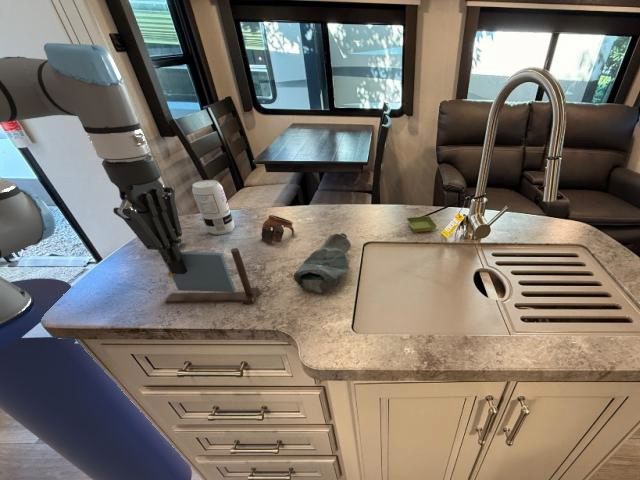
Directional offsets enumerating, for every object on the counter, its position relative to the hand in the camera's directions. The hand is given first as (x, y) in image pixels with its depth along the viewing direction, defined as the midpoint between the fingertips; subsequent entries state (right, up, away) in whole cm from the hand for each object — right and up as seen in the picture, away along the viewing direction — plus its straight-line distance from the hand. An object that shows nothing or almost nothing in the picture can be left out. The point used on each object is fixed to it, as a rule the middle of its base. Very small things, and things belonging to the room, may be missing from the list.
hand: (179, 272), depth 70 cm
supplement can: (-10, +17, +35) cm, 40 cm away
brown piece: (+10, +13, +31) cm, 35 cm away
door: (+3, -4, +5) cm, 7 cm away
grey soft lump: (+29, +2, +18) cm, 34 cm away
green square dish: (+55, +19, +40) cm, 71 cm away
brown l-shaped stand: (+4, -6, +7) cm, 9 cm away
